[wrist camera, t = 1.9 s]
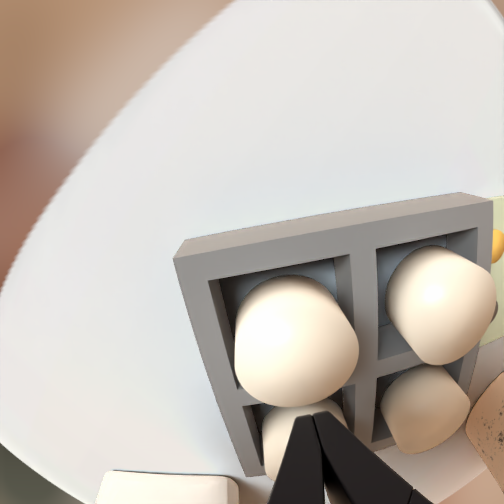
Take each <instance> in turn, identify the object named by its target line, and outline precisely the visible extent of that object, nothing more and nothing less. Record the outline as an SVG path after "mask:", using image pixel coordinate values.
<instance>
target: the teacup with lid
mask: <svg viewBox="0 0 504 504" xmlns="http://www.w3.org/2000/svg"><path fill="white" fill-rule="evenodd" d="M466 434H467V436H468V438H469V439H470V441H471V442H472V444H473V445H474V447H475V448H476V450H477V452H478V453H479V455H480V456H481V458H482V459H483V461H484V462H485V464H486V465H487V467H488V469H489V470H490V472H491V473H492V475H493V477H494V478H495V480H496V481H497V483H498V484H499V486H500V488H501V489H502V491H503V493H504V371H503V372H502V373H501V374H500V375H499V376H498V377H497V378H496V379H495V380H494V381H493V382H492V383H491V384H490V385H489V387H488V388H487V389H486V390H485V391H484V393H483V394H482V395H481V397H480V398H479V399H478V401H477V402H476V404H475V406H474V407H473V409H472V411H471V413H470V415H469V417H468V420H467V423H466Z"/></svg>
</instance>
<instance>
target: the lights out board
mask: <svg viewBox="0 0 504 504" xmlns="http://www.w3.org/2000/svg"><path fill="white" fill-rule="evenodd" d="M443 234H447V249H449V250H451V251H453V252H455V253H456V254H458V255H460V256H462V257H464V258H466V259H467V260H469V261H471V262H473V263H475V264H476V265H478V266H480V267H482V268H483V269H485V270H486V271H487V272H488V273H489V274H490V275H491V276H492V278H493V280H494V283H495V287H496V306H495V311H494V314H493V317H492V320H491V322H490V324H489V326H488V328H487V330H486V332H485V334H484V335H483V336H482V338H481V339H480V341H479V342H478V343H477V344H476V345H475V346H474V347H473V348H472V349H471V350H470V351H469V352H468V353H466V354H465V355H464V356H462V357H461V358H459V359H457V360H455V361H453V362H451V363H448V364H444V365H442V366H443V367H444V368H445V370H446V371H447V372H448V373H449V374H450V376H451V377H452V378H453V379H454V381H455V382H456V383H457V384H458V385H459V387H460V388H461V389H462V390H463V392H464V393H465V394H466V395H467V392H468V389H469V386H470V382H471V378H472V375H473V371H474V367H475V363H476V358H477V354H478V350H479V347H481V346H483V345H486V344H488V343H490V342H492V341H494V340H496V339H499V338H501V337H503V336H504V195H503V196H497V197H491V198H482V197H478V196H474V195H470V194H466V193H462V192H458V193H452V194H445V195H438V196H431V197H425V198H418V199H412V200H406V201H399V202H393V203H387V204H380V205H374V206H368V207H362V208H356V209H350V210H344V211H338V212H333V213H327V214H321V215H315V216H310V217H304V218H298V219H293V220H287V221H282V222H276V223H271V224H265V225H260V226H254V227H249V228H244V229H239V230H233V231H228V232H223V233H218V234H212V235H207V236H202V237H197V238H192V239H187V240H185V241H184V242H183V244H182V245H181V247H180V248H179V250H178V251H177V253H176V254H175V256H174V257H173V262H174V265H175V269H176V273H177V277H178V280H179V284H180V287H181V291H182V294H183V298H184V301H185V305H186V308H187V312H188V315H189V318H190V322H191V325H192V328H193V331H194V335H195V338H196V341H197V344H198V347H199V350H200V354H201V357H202V360H203V363H204V366H205V369H206V372H207V375H208V378H209V381H210V383H211V386H212V389H213V392H214V395H215V398H216V401H217V403H218V406H219V409H220V412H221V414H222V417H223V420H224V422H225V425H226V428H227V430H228V433H229V436H230V438H231V441H232V443H233V446H234V449H235V451H236V454H237V456H238V459H239V461H240V463H241V466H242V468H243V471H244V473H245V476H246V477H253V476H262V475H267V474H266V472H265V463H264V450H263V437H262V434H259V433H258V429H257V426H256V422H255V418H254V415H253V411H252V408H251V405H253V404H260V403H264V402H261V401H259V400H257V399H256V398H254V397H253V396H251V395H250V394H249V393H248V392H247V391H246V390H245V389H244V388H243V387H242V385H241V384H240V382H239V380H238V378H237V375H236V372H235V344H234V340H233V336H232V332H231V329H230V325H229V321H228V317H227V312H226V308H225V304H224V300H223V296H222V292H221V288H220V284H219V279H220V278H225V277H231V276H236V275H242V274H247V273H253V272H258V271H263V270H269V269H274V268H279V267H285V266H290V265H295V264H301V263H306V262H311V261H316V260H321V259H326V258H332V257H334V266H335V276H336V287H337V299H338V305H339V307H340V308H341V310H342V312H343V313H344V315H345V317H346V318H347V320H348V322H349V323H350V325H351V327H352V328H353V330H354V332H355V334H356V336H357V339H358V344H359V356H358V361H357V364H356V367H355V369H354V371H353V373H352V375H351V376H350V377H349V379H348V380H347V381H346V383H345V384H344V385H343V386H342V391H343V416H344V418H345V421H346V424H347V427H348V430H350V431H351V432H352V433H353V434H354V435H355V436H356V437H357V438H358V439H359V440H360V441H361V442H362V443H364V444H365V445H366V446H367V447H368V448H369V449H370V450H371V451H372V452H375V451H378V450H381V449H384V448H387V447H390V446H393V445H396V442H395V440H394V438H393V436H392V433H391V431H390V429H389V427H388V425H387V423H386V421H385V419H384V417H383V415H382V413H381V410H380V408H376V409H375V397H376V381H377V378H378V377H382V376H385V375H388V374H392V373H395V372H398V371H401V370H404V369H407V368H410V367H413V366H416V365H419V364H422V363H425V362H424V361H423V360H421V359H420V358H419V356H418V355H417V354H416V353H415V351H414V350H413V349H412V348H411V346H410V345H409V344H408V343H407V341H406V340H405V339H404V338H403V336H402V335H401V334H400V333H399V331H398V330H397V329H396V328H395V327H394V325H393V324H392V323H391V324H388V325H384V326H380V327H378V285H377V262H376V249H377V248H381V247H386V246H391V245H396V244H401V243H406V242H410V241H415V240H420V239H425V238H429V237H434V236H439V235H443Z"/></svg>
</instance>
